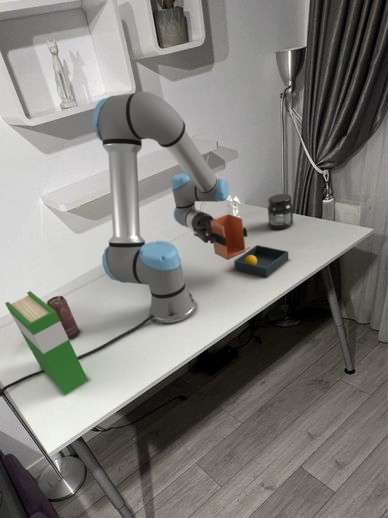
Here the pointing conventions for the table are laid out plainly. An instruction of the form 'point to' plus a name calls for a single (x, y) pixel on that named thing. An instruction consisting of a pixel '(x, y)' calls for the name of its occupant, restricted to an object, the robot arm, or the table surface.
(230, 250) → the orange open box
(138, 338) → the table surface
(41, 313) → the hardback book
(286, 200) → the supplement container
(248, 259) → the ball
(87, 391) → the table surface
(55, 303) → the can
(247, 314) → the table surface
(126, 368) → the table surface
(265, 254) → the tray
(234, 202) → the white figurine
